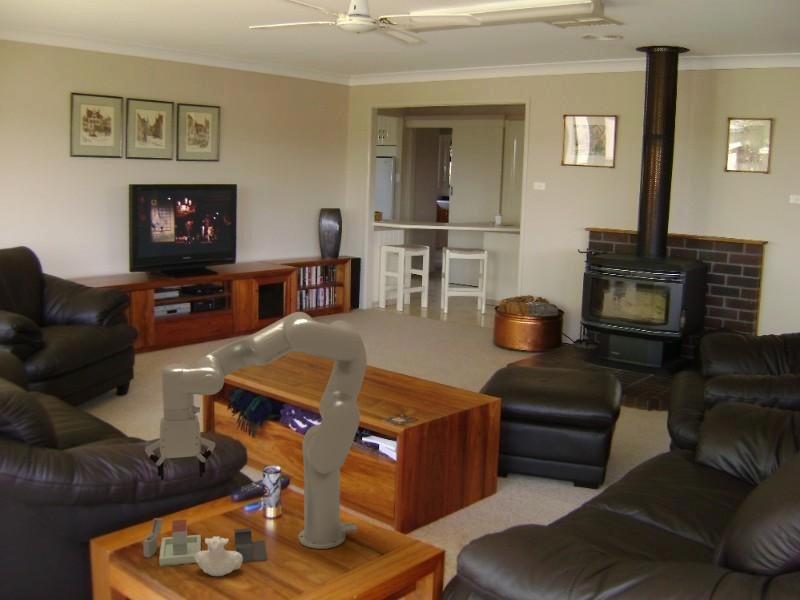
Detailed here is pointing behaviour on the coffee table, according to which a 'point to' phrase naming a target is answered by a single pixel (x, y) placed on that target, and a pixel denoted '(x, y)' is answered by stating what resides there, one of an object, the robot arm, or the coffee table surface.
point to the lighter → (152, 539)
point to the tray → (170, 559)
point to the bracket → (249, 546)
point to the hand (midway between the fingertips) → (181, 476)
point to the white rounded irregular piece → (218, 558)
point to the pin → (179, 537)
